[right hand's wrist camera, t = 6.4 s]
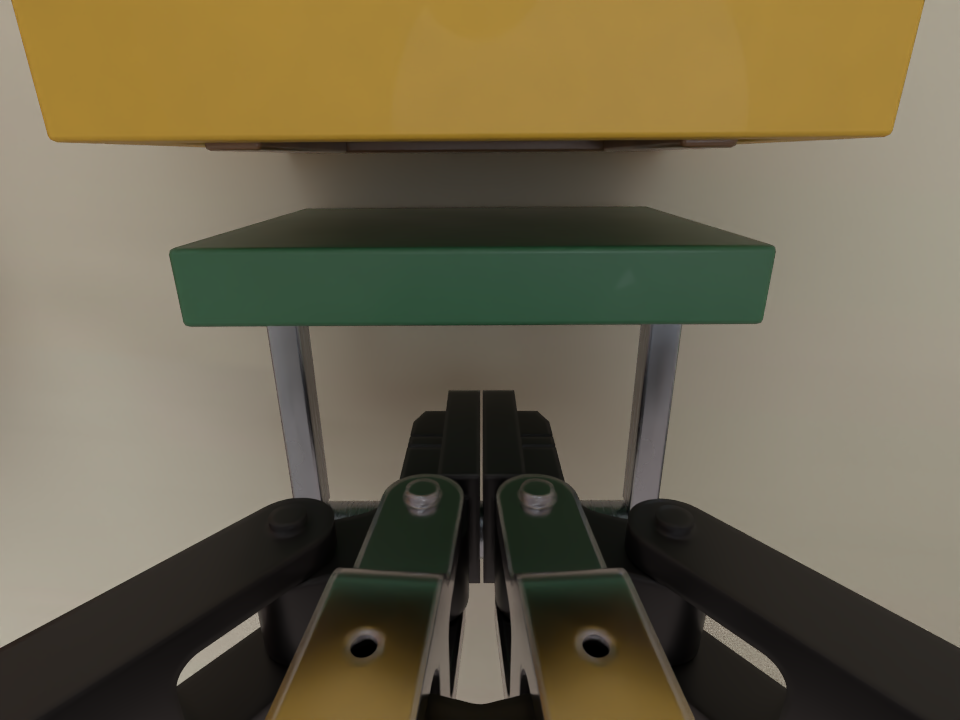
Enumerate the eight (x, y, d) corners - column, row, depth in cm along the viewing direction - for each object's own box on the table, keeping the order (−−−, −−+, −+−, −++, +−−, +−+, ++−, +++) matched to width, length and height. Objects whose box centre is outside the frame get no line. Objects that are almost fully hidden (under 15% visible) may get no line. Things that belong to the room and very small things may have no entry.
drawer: (624, 443, 16) (709, 614, 10) (331, 445, 16) (243, 615, 10) (713, -429, 10) (1092, -1384, 4) (228, -425, 10) (-179, -1360, 4)
